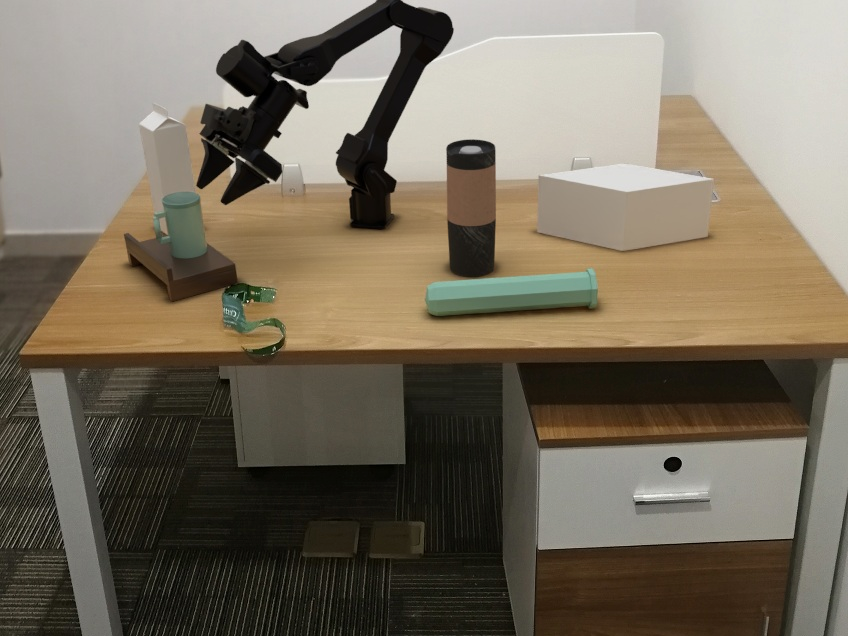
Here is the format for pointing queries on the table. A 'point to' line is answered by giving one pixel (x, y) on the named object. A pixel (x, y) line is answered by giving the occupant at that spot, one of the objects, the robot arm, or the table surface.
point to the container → (512, 293)
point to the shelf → (182, 267)
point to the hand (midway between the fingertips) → (210, 195)
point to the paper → (624, 206)
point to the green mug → (182, 225)
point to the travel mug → (471, 206)
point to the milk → (166, 157)
